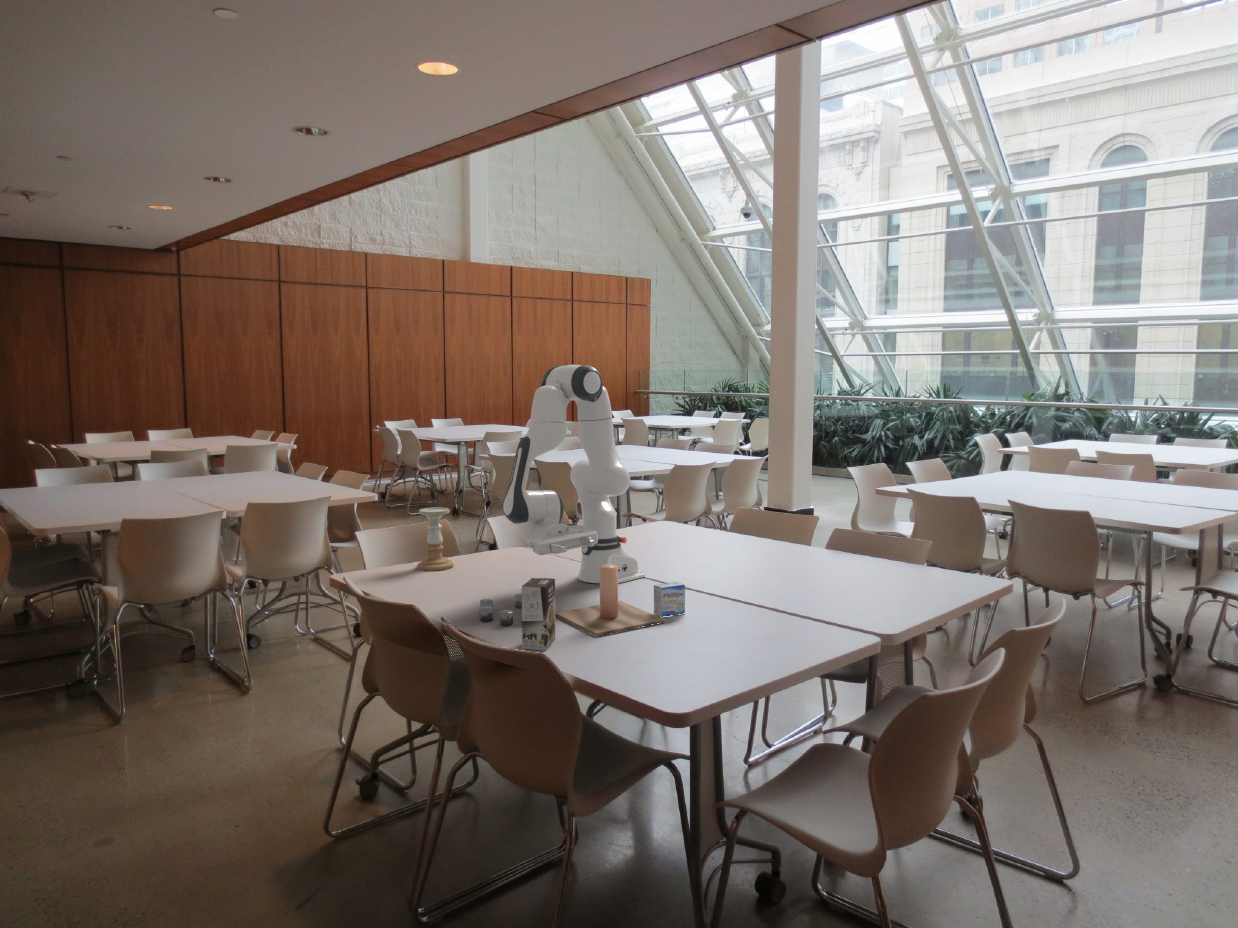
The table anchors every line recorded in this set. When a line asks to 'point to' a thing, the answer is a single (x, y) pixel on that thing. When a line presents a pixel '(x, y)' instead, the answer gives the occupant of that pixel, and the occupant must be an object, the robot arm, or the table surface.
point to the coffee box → (538, 613)
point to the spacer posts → (505, 615)
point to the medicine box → (669, 599)
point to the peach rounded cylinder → (608, 591)
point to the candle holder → (434, 541)
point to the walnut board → (599, 626)
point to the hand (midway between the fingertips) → (578, 546)
